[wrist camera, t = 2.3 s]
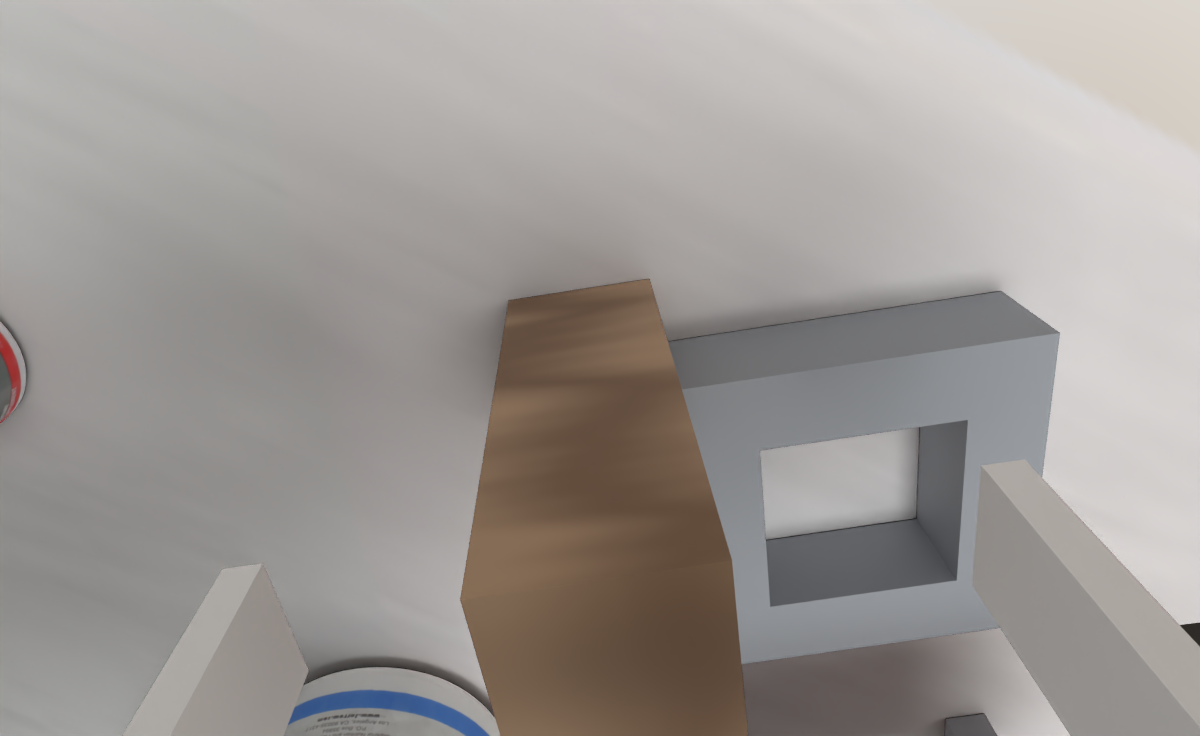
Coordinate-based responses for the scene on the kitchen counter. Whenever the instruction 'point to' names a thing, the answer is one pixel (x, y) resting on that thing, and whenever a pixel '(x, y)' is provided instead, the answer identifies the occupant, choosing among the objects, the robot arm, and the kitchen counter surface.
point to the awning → (969, 726)
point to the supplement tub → (387, 706)
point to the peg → (599, 533)
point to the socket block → (854, 408)
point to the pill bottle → (10, 374)
